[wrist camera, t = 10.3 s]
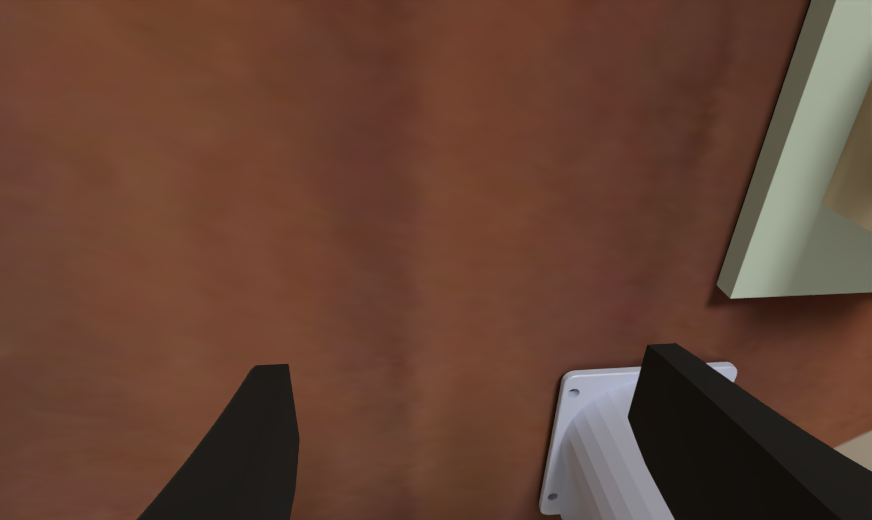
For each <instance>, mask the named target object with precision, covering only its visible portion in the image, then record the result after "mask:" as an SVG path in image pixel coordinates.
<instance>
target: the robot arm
mask: <svg viewBox="0 0 872 520" xmlns="http://www.w3.org/2000/svg"><path fill="white" fill-rule="evenodd" d="M736 375H737V369H736V368H735V367H734V366H733V364H731V363H730V362H716V363H705V362H703V361H702V360H700V359H699V358H698V357H696V356H695V355H693V354H692V353H690V352H689V351H687V350H686V349H684V348H682V347H681V346H679V345H678V344H676V343H673V344H654V345H647V348H646V352H645V355H644V359H643V362H642V366H641V367H628V368H611V369H593V370H576V371H570V372H568V373H566V374H565V375H564V376H563V378H562V381H561V387H560V392H559V398H558V403H557V408H556V414H555V419H554V425H553V430H552V436H551V441H550V447H549V452H548V457H547V463H546V468H545V474H544V479H543V485H542V490H541V496H540V501H539V507H540V511H541V512H542V513H543V514H545V515H554V514H560V515H561V518H562V520H872V471H870V470H868V469H866V468H864V467H863V466H861V465H859V464H858V463H856V462H854V461H852V460H851V459H849V458H847V457H846V456H844V455H842V454H841V453H839V452H838V451H836V450H834V449H833V448H831V447H830V446H828V445H826V444H825V443H823V442H822V441H820V440H818V439H817V438H815V437H814V436H812V435H810V434H809V433H807V432H806V431H804V430H803V429H801V428H799V427H798V426H796V425H795V424H793V423H792V422H790V421H789V420H787V419H786V418H784V417H783V416H781V415H780V414H778V413H777V412H775V411H774V410H772V409H771V408H769V407H768V406H767V405H765V404H764V403H762V402H761V401H759V400H758V399H756V398H755V397H753V396H752V395H751V394H749V393H748V392H746V391H745V390H743V389H742V388H741V387H739V386H738V385H736V384H735V383H734V380H735V378H736ZM572 389H575V390H573V391H570V390H572ZM298 452H299V432H298V426H297V419H296V412H295V406H294V399H293V392H292V385H291V379H290V372H289V365H288V364H276V365H257V366H255V367H254V368H253V369H252V370H250V372H249V374H248V375H247V377H246V378H245V380H244V381H243V383H242V384H241V386H240V387H239V389H238V390H237V392H236V393H235V395H234V396H233V398H232V399H231V401H230V402H229V404H228V405H227V407H226V408H225V409H224V411H223V412H222V414H221V415H220V417H219V418H218V419H217V421H216V422H215V424H214V425H213V426H212V428H211V429H210V430H209V432H208V433H207V434H206V436H205V437H204V438H203V440H202V441H201V442H200V444H199V445H198V446H197V448H196V449H195V450H194V452H193V453H192V454H191V455H190V457H189V458H188V459H187V461H186V462H185V463H184V464H183V466H182V467H181V468H180V469H179V470H178V472H177V473H176V474H175V475H174V476H173V478H172V479H171V480H170V481H169V482H168V484H167V485H166V486H165V487H164V488H163V490H162V491H161V492H160V493H159V494H158V496H157V497H156V498H155V499H154V501H153V502H152V503H151V504H150V505H149V506H148V507H147V508H146V510H145V511H144V512H143V513H142V514H141V515H140V516H139V517H138V519H137V520H290V515H291V509H292V504H293V499H294V494H295V487H296V476H297V464H298Z"/></svg>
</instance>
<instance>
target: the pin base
mask: <svg viewBox="0 0 872 520" xmlns="http://www.w3.org/2000/svg"><path fill="white" fill-rule="evenodd" d="M871 80H872V0H811V3H810V6H809V9H808V12H807V15H806V18H805V21H804V24H803V27H802V30H801V33H800V36H799V39H798V42H797V45H796V48H795V51H794V54H793V57H792V60H791V63H790V66H789V69H788V72H787V75H786V78H785V81H784V84H783V87H782V90H781V93H780V96H779V99H778V102H777V105H776V108H775V111H774V114H773V117H772V120H771V123H770V126H769V129H768V132H767V135H766V138H765V141H764V144H763V147H762V150H761V153H760V156H759V159H758V162H757V165H756V168H755V171H754V174H753V177H752V180H751V183H750V186H749V189H748V192H747V195H746V198H745V201H744V204H743V207H742V210H741V213H740V216H739V219H738V222H737V225H736V228H735V231H734V234H733V237H732V240H731V243H730V246H729V249H728V252H727V254H726V257H725V260H724V263H723V266H722V269H721V272H720V275H719V278H718V281H717V284H716V285H717V286H718V287H719V288H720V289H721V290H722V291H723V292H724V293H725V294H726V295H727V296H728V297H729V298H730V299H732V298H754V297H777V296H799V295H822V294H844V293H867V292H872V232H870V231H869V230H867V229H865V228H863V227H861V226H860V225H858V224H856V223H854V222H853V221H851V220H849V219H847V218H846V217H844V216H842V215H840V214H839V213H837V212H835V211H833V210H832V209H830V208H828V207H826V206H825V205H823V204H821V202H822V200H823V198H824V195H825V193H826V190H827V188H828V185H829V183H830V180H831V178H832V175H833V173H834V171H835V168H836V166H837V163H838V161H839V158H840V156H841V153H842V151H843V149H844V146H845V144H846V141H847V139H848V136H849V134H850V131H851V129H852V126H853V124H854V122H855V119H856V117H857V114H858V112H859V109H860V107H861V104H862V102H863V99H864V97H865V95H866V92H867V90H868V87H869V85H870V82H871Z"/></svg>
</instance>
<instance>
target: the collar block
mask: <svg viewBox="0 0 872 520" xmlns="http://www.w3.org/2000/svg"><path fill="white" fill-rule="evenodd" d="M821 204H823V205H825V206H826V207H828V208H830V209H832V210H833V211H835V212H837V213H839V214H840V215H842V216H844V217H846V218H847V219H849V220H851V221H853V222H854V223H856V224H858V225H860V226H861V227H863V228H865V229H867V230H869V231H870V232H872V80H871V82H870V85H869V87H868V90H867V92H866V95H865V97H864V99H863V102H862V104H861V107H860V109H859V112H858V114H857V117H856V119H855V122H854V124H853V126H852V129H851V131H850V134H849V136H848V139H847V141H846V144H845V146H844V149H843V151H842V153H841V156H840V158H839V161H838V163H837V166H836V168H835V171H834V173H833V175H832V178H831V180H830V183H829V185H828V188H827V190H826V193H825V195H824V198H823V200H822V202H821Z"/></svg>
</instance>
